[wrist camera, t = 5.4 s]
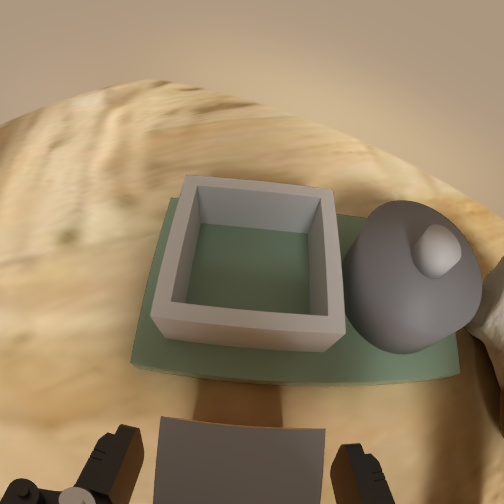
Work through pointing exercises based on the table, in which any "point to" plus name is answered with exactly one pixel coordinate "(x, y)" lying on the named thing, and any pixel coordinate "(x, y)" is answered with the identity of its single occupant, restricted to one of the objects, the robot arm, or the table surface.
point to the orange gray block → (237, 464)
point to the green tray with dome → (303, 289)
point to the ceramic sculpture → (492, 325)
